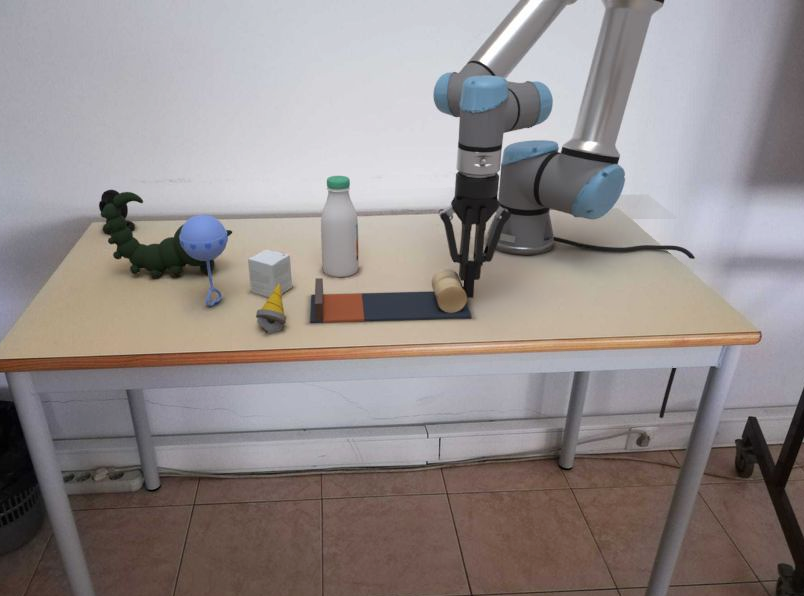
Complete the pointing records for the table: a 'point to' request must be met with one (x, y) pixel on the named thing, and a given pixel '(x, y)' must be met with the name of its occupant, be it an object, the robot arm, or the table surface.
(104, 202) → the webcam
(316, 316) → the board
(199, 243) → the baby rattle
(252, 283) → the product box
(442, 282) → the roller
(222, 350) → the table surface
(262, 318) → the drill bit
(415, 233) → the table surface
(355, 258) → the milk bottle
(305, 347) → the table surface
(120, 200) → the toy figurine
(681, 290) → the table surface
